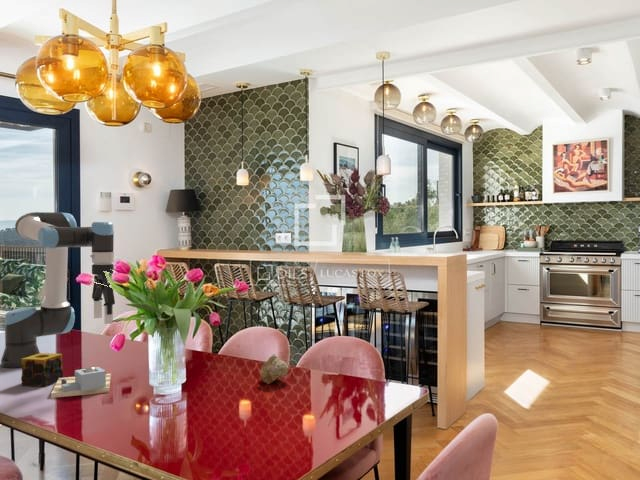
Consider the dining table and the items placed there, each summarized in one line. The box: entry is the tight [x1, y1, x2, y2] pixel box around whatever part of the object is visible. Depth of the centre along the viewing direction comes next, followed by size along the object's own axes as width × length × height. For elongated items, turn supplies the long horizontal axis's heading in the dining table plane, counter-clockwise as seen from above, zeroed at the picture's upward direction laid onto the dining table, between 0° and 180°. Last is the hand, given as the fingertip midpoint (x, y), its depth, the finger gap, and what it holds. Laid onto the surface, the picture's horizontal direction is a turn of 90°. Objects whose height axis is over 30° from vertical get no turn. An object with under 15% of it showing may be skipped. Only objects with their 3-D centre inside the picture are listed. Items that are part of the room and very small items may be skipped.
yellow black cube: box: [20, 352, 64, 388], centre depth 199 cm, size 10×10×10 cm
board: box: [50, 373, 112, 399], centre depth 193 cm, size 20×18×2 cm
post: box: [85, 366, 96, 373], centre depth 188 cm, size 3×3×6 cm
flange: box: [61, 366, 107, 392], centre depth 186 cm, size 13×8×6 cm, turn 129°
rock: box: [259, 353, 291, 385], centre depth 197 cm, size 12×10×10 cm
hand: (103, 320), depth 199 cm, fingers open, 13 cm apart
